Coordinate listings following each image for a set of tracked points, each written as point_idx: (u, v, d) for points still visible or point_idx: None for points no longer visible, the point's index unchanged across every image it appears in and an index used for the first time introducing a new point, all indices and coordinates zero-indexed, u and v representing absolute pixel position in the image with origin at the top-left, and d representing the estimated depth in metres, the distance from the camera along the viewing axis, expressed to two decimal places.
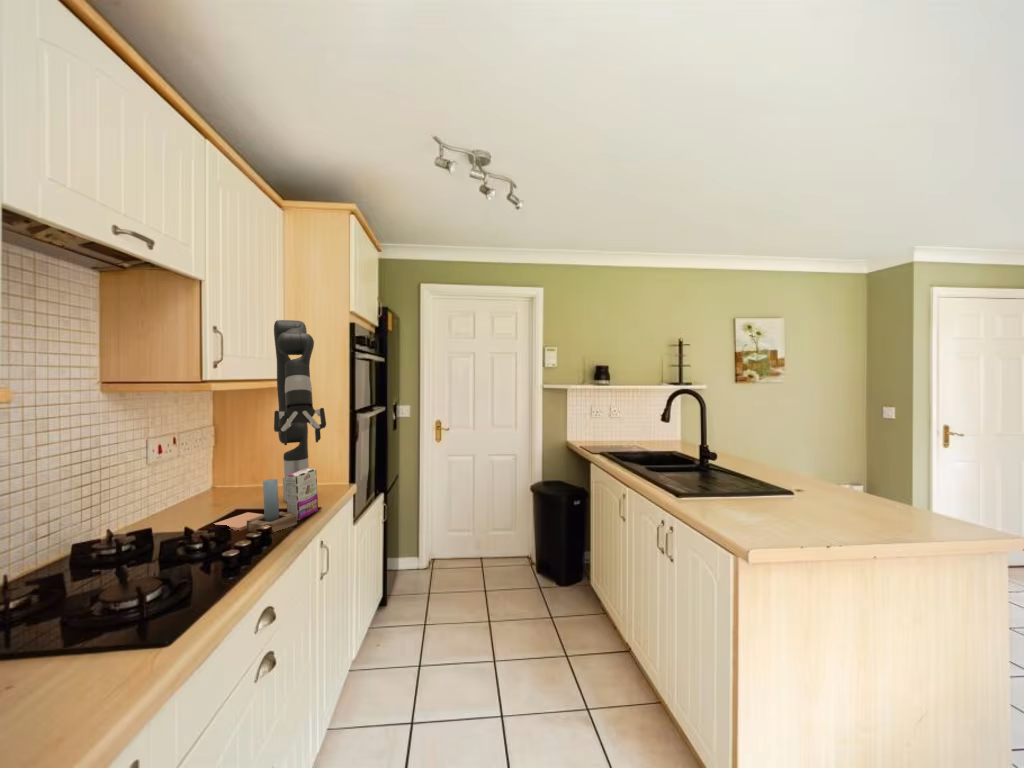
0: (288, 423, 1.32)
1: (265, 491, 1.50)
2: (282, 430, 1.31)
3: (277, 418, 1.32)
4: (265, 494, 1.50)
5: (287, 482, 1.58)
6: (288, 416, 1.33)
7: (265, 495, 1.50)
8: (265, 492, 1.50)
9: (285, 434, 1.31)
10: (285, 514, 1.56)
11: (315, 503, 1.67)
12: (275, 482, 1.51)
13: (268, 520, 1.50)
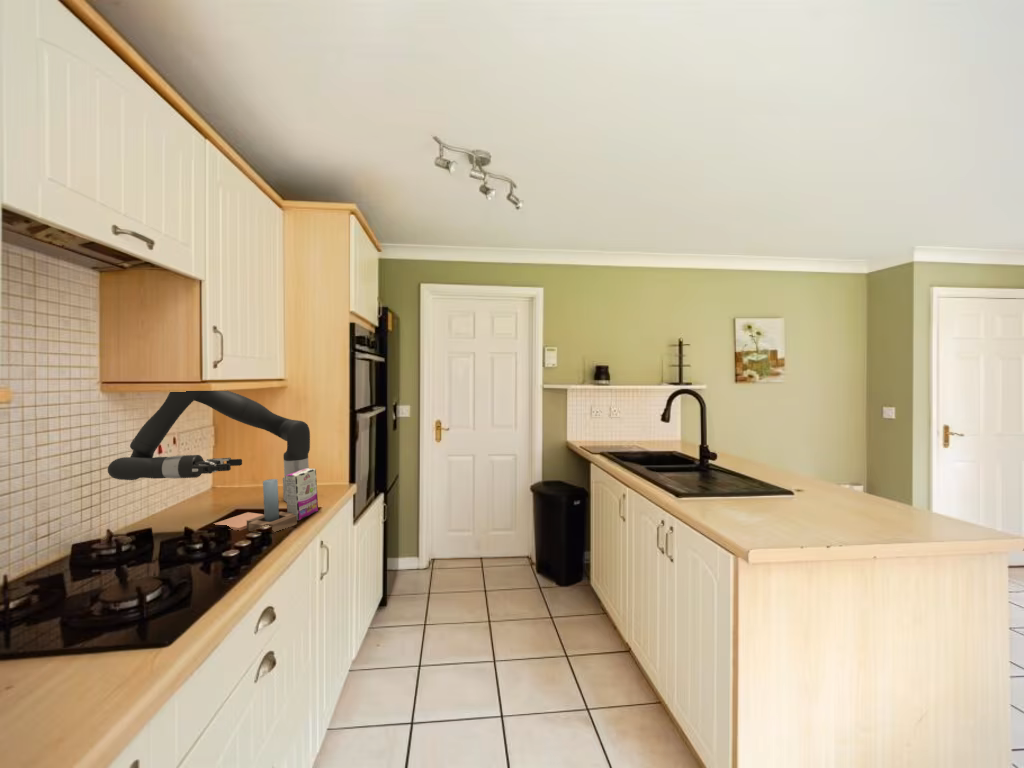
0: None
1: (265, 491, 1.50)
2: None
3: None
4: (265, 494, 1.50)
5: (287, 482, 1.58)
6: None
7: (265, 495, 1.50)
8: (265, 492, 1.50)
9: (232, 465, 1.54)
10: (285, 514, 1.56)
11: (314, 503, 1.67)
12: (275, 482, 1.51)
13: (268, 520, 1.50)
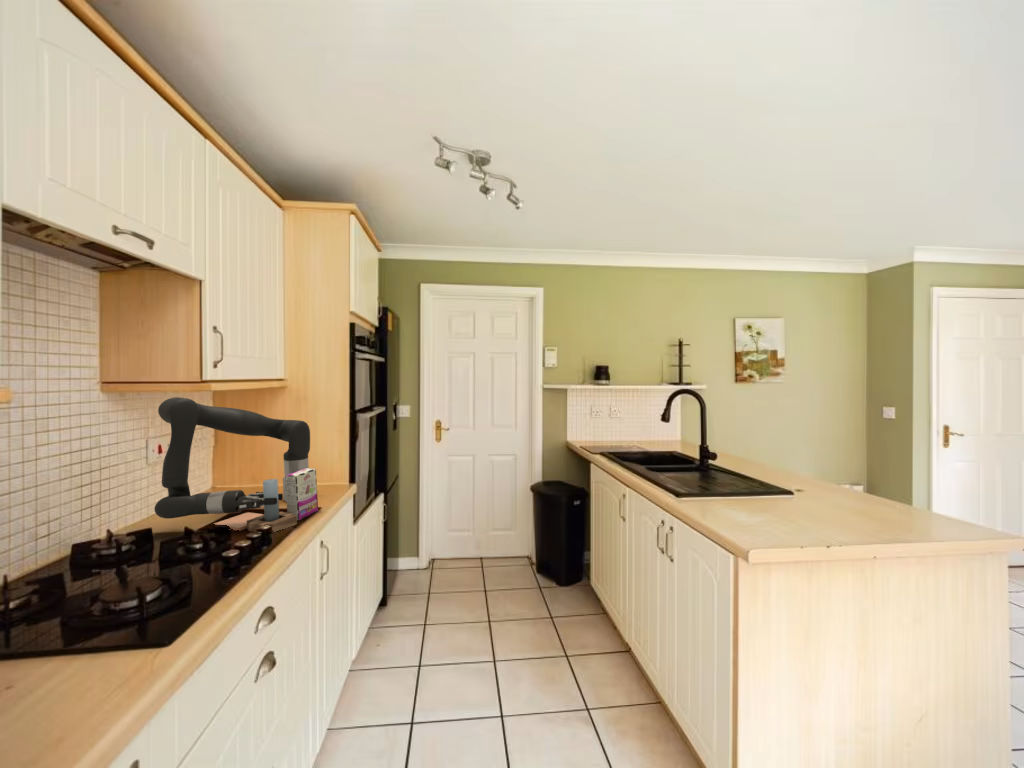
0: None
1: (265, 491, 1.50)
2: None
3: None
4: (265, 494, 1.50)
5: (287, 482, 1.58)
6: None
7: (265, 495, 1.50)
8: (265, 492, 1.50)
9: None
10: (285, 514, 1.56)
11: (314, 503, 1.67)
12: (275, 482, 1.51)
13: (269, 520, 1.50)
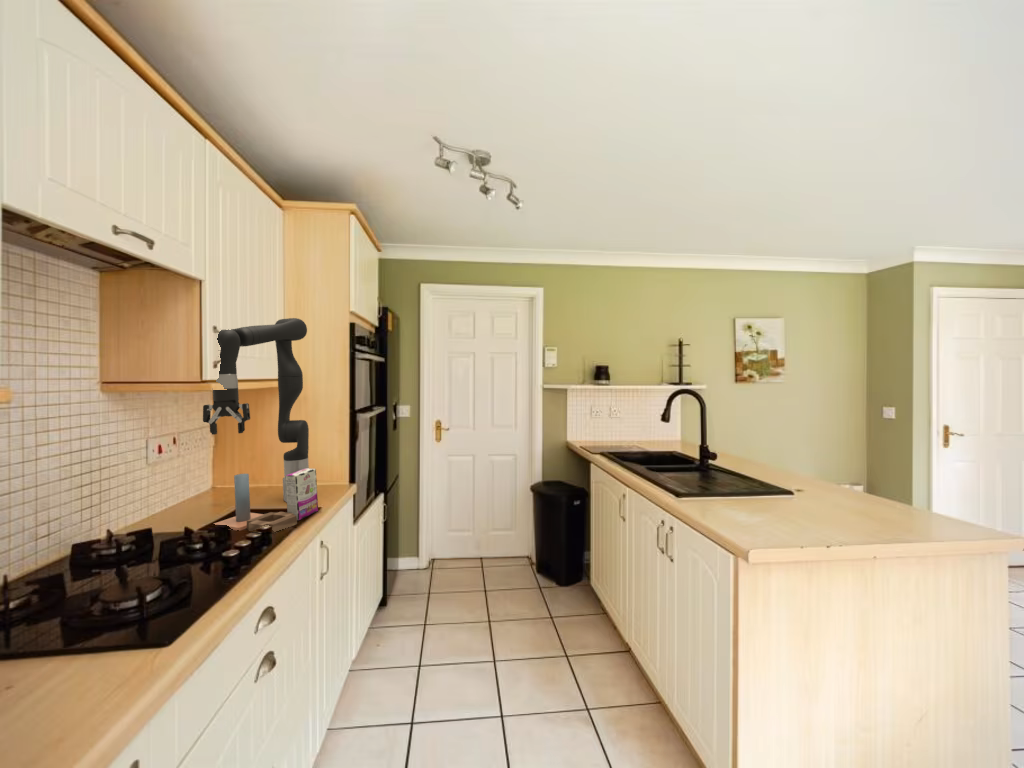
0: (214, 417, 1.52)
1: (236, 485, 1.55)
2: (210, 422, 1.53)
3: (205, 412, 1.52)
4: (236, 488, 1.55)
5: (287, 482, 1.58)
6: (215, 410, 1.53)
7: (236, 489, 1.55)
8: (236, 486, 1.55)
9: (212, 426, 1.53)
10: (285, 514, 1.56)
11: (314, 503, 1.67)
12: (246, 476, 1.56)
13: (239, 513, 1.55)
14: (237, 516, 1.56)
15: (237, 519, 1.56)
